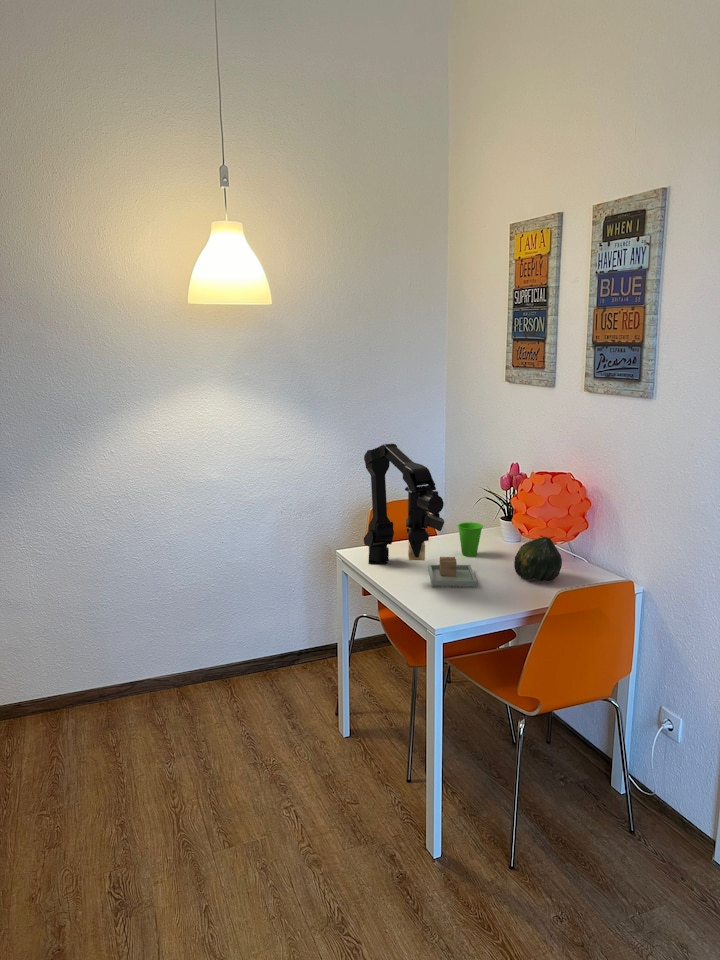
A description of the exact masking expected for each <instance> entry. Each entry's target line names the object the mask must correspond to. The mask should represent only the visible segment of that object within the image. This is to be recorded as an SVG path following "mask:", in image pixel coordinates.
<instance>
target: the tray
mask: <svg viewBox="0 0 720 960" xmlns="http://www.w3.org/2000/svg"><path fill="white" fill-rule="evenodd" d="M427 566H428V570H427V571H428V574H429V578H430V583H431V587H432V588H477V587H478V581H477V578H476V575H475V573H474V571H473V568H472V566H471V564H456V576H441V575H440V571H439V567H440V564H428V565H427Z"/></svg>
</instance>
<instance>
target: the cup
mask: <svg viewBox="0 0 720 960" xmlns="http://www.w3.org/2000/svg"><path fill="white" fill-rule="evenodd" d="M457 528H458V533H459V541H460V549H461V554H462V556H463V557H466V558H473V557H476V556H477V554H478V551H479V550H478V548H479V544H480V539H481V535H482V530H483V528H484V526H483V524H481V523H478V522H473V521H468V522H467V521H466V522H460V523H458V524H457Z"/></svg>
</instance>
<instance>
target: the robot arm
mask: <svg viewBox="0 0 720 960" xmlns="http://www.w3.org/2000/svg"><path fill="white" fill-rule="evenodd" d="M363 460H364V463H365V464H364V465H365V469H366V471H367V472H368V473H369V475H370V485H371V504H372V505H371V507H372V518H371V520H370V521H369V524H368V531H367V533H366V534H365V536H364V537H363V543H364V544H363V545H365V546H366V547H368V564H369V565H377V564H378V565H387V564H388V561H389V559H390V557H389V556H390V555H389V553H390V552H389V550H390V549H389V547H388V545H393V539H394V534H395V531H394V522H393V521H391V519H390V518H389V517H388V509H387V508H388V506H387V505H388V504H387V503H388V501H387V488H386V487H387V485H386V484H387V483H386V474H387V472H388V471H389V468H390V464H392V465H393V466H394V467H395V468H397V470H398V471H399V472H401V474H402V480H403V481H404V482H405V484H406V485H407V486H406V487H405V488H404V491H406V492H407V494H408V495H407V517H406V519H405V527H406V533H407V540H408V541H409V543H410V545H411V548H412V550H413V553H414V555H415V557H416V558H418V557H419V554H420V550H421V546H422V543H423V542H424V543H425V542H428V541H429V539H430V538H429V537H430V536H429V535H430V534H429V531H428V530H427V529H428V527H429V528H431V529H435V530H436V531H438V532H442V530H443V527H444V525H445V520H444V518H442V517H440V513H441V511H442V510H444V509H443V508H444V505H445V504H444V503H445V502H444V499H443V497H441V496H440V495H439V491H438V490H437V488H436V483H435V481H434V479H433V476H432V474H431V471H430V470H429V468H428V467H427V466H426V465H425V466H424V465H423V464H420V463H418V462H414V461H413V460H412V459H410V457H408V456H407V455H406V454H405V453H404V452H403V451H402V450H401V449H399V448H398V445H397V444H395V443H384V444H381V445H379V446H377V447H375V448H373V449H367V450H366V452H365V453H364V455H363Z"/></svg>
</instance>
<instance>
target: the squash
mask: <svg viewBox="0 0 720 960" xmlns="http://www.w3.org/2000/svg"><path fill="white" fill-rule="evenodd" d="M513 564H514V570H515V573H516V574H517V575H518V577H520V578H521V579H525V580H527V581H532V580H535V581H547V582H551V581H554V580H556V579H557V578H558V577H559V574H560V571H561V569H562V566H563V565H562V564H563V560H562V555H561V553H560V552H559V549H558V548H557V546H556V545H555V544H554V542H553V540H552V538H550V537H549V536H548V537H547V536H542V537H538V538H535V539H533V540H531V541H528V542H526V543H524V544H522V545H521V546H520V548H519V549H518V550H517V553H516V554H515V556H514V563H513Z"/></svg>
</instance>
